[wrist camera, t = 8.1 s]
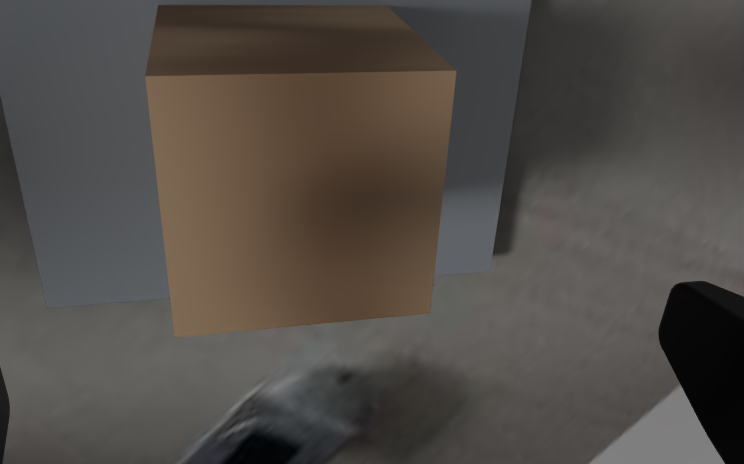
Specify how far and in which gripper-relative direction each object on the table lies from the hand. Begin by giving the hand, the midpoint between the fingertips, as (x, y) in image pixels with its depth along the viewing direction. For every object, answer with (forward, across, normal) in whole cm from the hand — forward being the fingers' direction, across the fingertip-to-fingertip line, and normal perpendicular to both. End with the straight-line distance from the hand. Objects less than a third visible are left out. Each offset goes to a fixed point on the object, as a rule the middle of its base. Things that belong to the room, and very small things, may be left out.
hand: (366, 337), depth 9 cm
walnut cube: (+9, 0, 0) cm, 9 cm away
